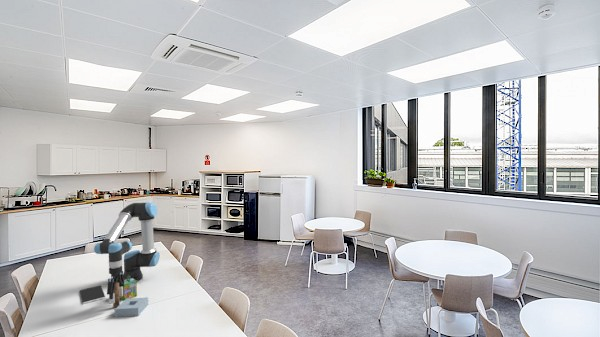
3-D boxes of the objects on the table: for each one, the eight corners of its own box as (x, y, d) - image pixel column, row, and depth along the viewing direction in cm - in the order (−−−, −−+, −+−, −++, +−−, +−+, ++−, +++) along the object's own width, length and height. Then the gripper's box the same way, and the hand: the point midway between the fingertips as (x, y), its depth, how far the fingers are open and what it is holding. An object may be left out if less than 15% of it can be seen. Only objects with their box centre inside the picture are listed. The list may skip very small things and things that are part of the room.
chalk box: (118, 297, 203) (117, 276, 203) (132, 292, 210) (131, 273, 210) (123, 301, 198) (122, 280, 197) (137, 296, 205) (137, 276, 205)
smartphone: (82, 305, 193) (82, 303, 193) (79, 292, 213) (79, 289, 213) (105, 299, 202) (105, 297, 202) (100, 286, 222) (100, 284, 222)
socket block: (126, 305, 191) (126, 298, 191) (148, 304, 192) (148, 297, 192) (115, 317, 177) (114, 309, 177) (138, 315, 178) (138, 307, 178)
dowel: (115, 305, 191) (114, 282, 190) (120, 305, 191) (120, 282, 191) (112, 308, 187) (111, 284, 187) (117, 308, 187) (117, 284, 187)
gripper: (118, 261, 199) (119, 292, 200) (99, 273, 177) (100, 308, 178) (129, 260, 200) (130, 291, 200) (112, 272, 178) (112, 307, 178)
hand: (116, 299), depth 189 cm, fingers open, 9 cm apart
